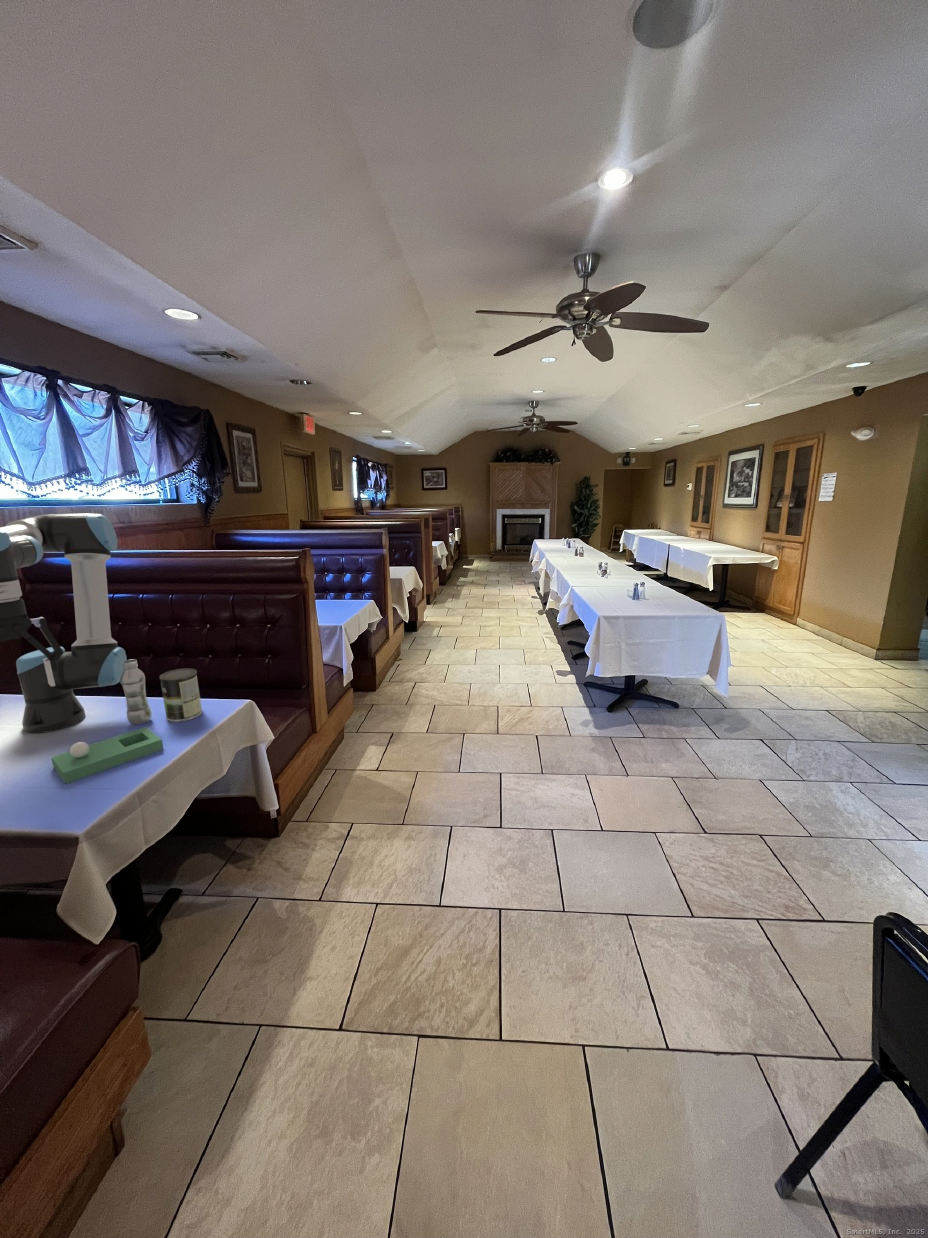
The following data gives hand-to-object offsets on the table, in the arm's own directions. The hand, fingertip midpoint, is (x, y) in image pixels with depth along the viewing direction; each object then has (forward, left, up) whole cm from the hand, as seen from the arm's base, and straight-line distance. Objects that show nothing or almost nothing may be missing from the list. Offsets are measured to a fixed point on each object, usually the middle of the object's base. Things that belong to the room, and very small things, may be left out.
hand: (23, 691), depth 117 cm
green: (0, +14, -24) cm, 28 cm away
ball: (0, +8, -19) cm, 20 cm away
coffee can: (-13, +38, -24) cm, 47 cm away
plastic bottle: (-18, +27, -24) cm, 40 cm away
